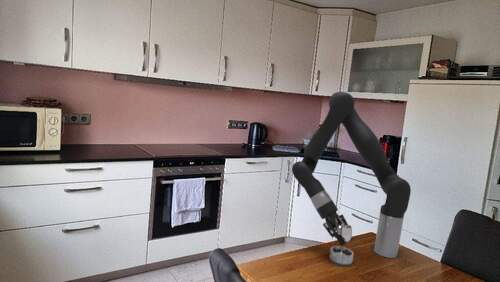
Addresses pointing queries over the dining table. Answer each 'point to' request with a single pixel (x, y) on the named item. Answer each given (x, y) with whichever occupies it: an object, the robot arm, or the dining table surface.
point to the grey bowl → (341, 256)
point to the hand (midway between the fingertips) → (347, 242)
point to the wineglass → (345, 235)
